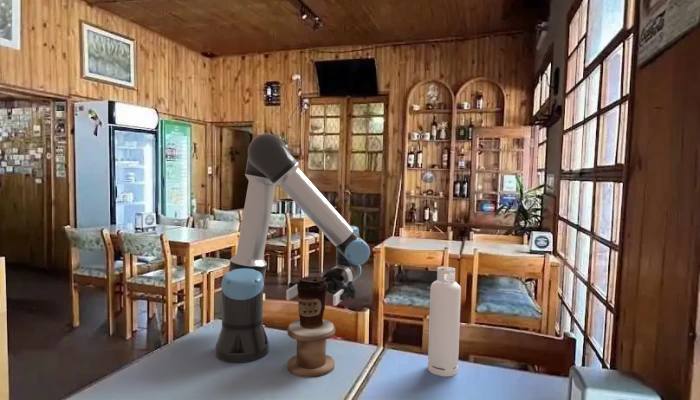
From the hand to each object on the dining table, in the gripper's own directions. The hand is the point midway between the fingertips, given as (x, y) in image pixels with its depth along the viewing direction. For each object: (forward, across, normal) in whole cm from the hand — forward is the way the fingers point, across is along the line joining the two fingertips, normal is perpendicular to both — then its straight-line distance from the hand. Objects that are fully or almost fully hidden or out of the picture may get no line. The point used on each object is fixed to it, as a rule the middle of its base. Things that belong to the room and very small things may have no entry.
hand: (310, 297), depth 116 cm
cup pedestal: (-2, 0, -20) cm, 20 cm away
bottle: (-12, -34, -20) cm, 41 cm away
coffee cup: (-2, 0, -8) cm, 9 cm away
